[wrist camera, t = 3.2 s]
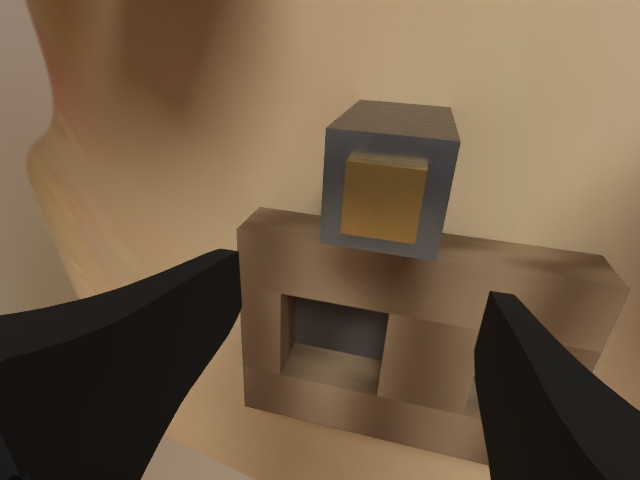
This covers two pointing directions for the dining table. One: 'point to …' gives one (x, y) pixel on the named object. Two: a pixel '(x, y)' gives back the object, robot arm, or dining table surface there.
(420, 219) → the square bit
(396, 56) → the dining table surface
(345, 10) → the dining table surface
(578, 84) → the dining table surface
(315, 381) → the socket board
